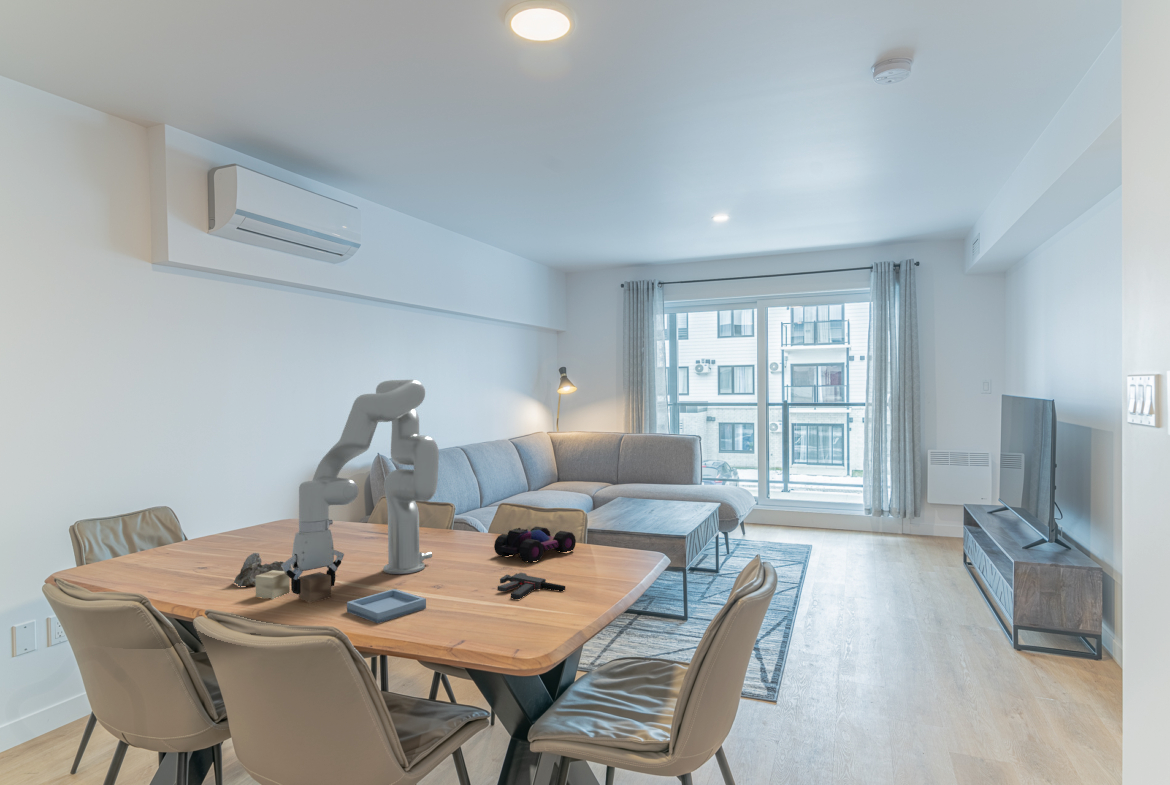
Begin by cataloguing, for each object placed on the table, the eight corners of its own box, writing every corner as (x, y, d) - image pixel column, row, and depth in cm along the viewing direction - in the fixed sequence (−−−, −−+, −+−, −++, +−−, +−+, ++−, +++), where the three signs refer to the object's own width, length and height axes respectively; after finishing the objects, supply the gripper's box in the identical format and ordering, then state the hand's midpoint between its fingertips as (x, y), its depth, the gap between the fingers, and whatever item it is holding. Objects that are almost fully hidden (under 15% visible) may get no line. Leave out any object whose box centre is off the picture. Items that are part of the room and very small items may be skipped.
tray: (394, 598, 175) (394, 588, 175) (426, 608, 166) (426, 598, 166) (347, 611, 164) (346, 602, 164) (378, 623, 155) (377, 613, 155)
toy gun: (546, 598, 169) (569, 580, 182) (484, 586, 176) (511, 569, 190) (546, 610, 169) (569, 590, 183) (484, 597, 176) (510, 579, 190)
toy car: (578, 551, 226) (578, 522, 226) (525, 566, 207) (524, 535, 207) (544, 544, 237) (544, 517, 237) (491, 558, 218) (490, 528, 218)
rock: (247, 587, 185) (241, 553, 188) (226, 596, 190) (221, 563, 192) (302, 576, 201) (296, 544, 203) (282, 584, 205) (276, 554, 208)
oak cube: (273, 591, 183) (272, 570, 183) (289, 593, 181) (289, 571, 181) (255, 597, 178) (255, 575, 178) (272, 599, 176) (272, 577, 176)
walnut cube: (320, 593, 181) (319, 572, 181) (331, 597, 177) (330, 575, 177) (299, 598, 176) (298, 576, 176) (310, 603, 172) (309, 580, 172)
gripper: (336, 520, 186) (336, 580, 185) (275, 529, 172) (275, 594, 172) (350, 523, 181) (350, 584, 180) (289, 533, 167) (288, 599, 167)
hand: (313, 589), depth 176 cm, fingers open, 9 cm apart
